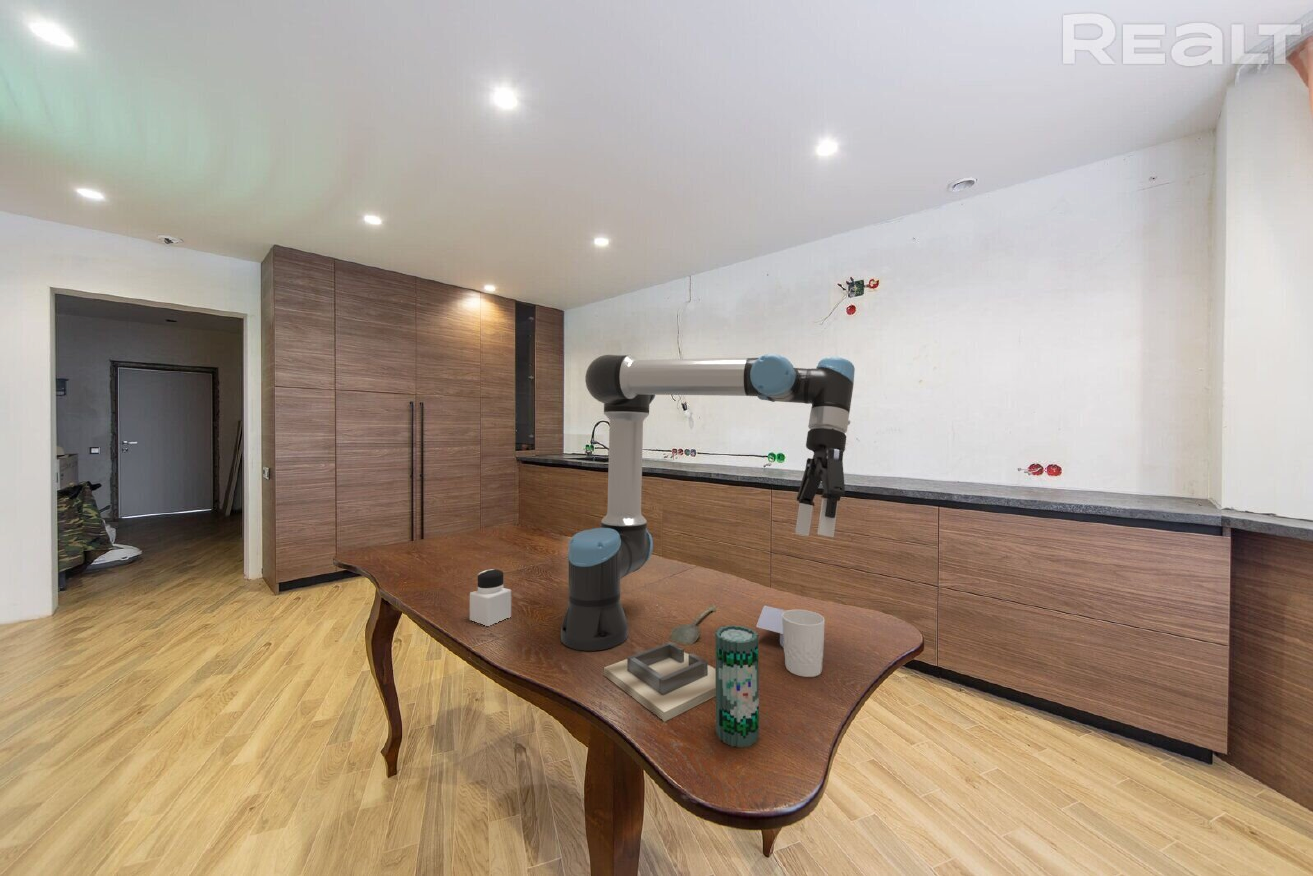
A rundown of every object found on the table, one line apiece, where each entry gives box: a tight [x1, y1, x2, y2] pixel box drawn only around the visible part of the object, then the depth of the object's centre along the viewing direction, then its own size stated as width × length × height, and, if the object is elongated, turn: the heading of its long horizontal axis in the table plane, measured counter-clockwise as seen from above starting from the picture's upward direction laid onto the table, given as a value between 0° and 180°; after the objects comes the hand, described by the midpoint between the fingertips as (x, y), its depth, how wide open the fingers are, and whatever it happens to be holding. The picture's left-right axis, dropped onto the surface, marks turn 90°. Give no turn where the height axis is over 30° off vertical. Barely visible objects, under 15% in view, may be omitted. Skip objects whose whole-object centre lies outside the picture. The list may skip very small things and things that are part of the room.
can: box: [714, 624, 760, 748], centre depth 68 cm, size 6×6×15 cm
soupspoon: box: [669, 605, 717, 645], centre depth 107 cm, size 22×3×7 cm
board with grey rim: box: [603, 641, 716, 723], centre depth 82 cm, size 18×16×4 cm
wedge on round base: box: [755, 605, 825, 650], centre depth 98 cm, size 9×7×13 cm
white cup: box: [782, 608, 826, 678], centre depth 87 cm, size 8×8×10 cm
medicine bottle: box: [469, 568, 512, 627], centre depth 112 cm, size 7×7×12 cm
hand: (812, 535), depth 88 cm, fingers open, 13 cm apart
